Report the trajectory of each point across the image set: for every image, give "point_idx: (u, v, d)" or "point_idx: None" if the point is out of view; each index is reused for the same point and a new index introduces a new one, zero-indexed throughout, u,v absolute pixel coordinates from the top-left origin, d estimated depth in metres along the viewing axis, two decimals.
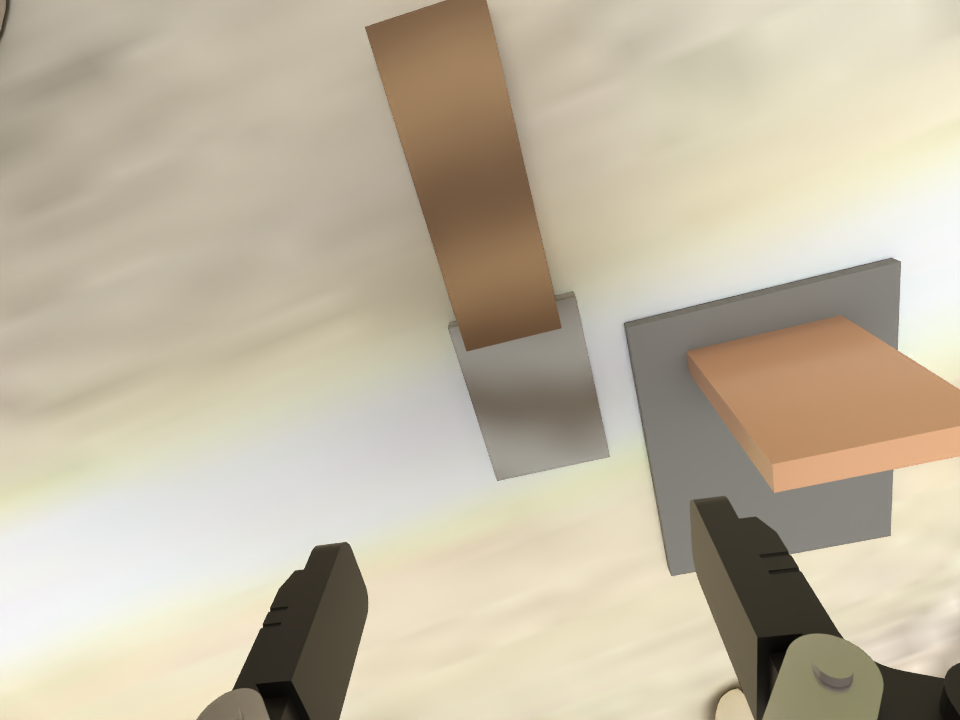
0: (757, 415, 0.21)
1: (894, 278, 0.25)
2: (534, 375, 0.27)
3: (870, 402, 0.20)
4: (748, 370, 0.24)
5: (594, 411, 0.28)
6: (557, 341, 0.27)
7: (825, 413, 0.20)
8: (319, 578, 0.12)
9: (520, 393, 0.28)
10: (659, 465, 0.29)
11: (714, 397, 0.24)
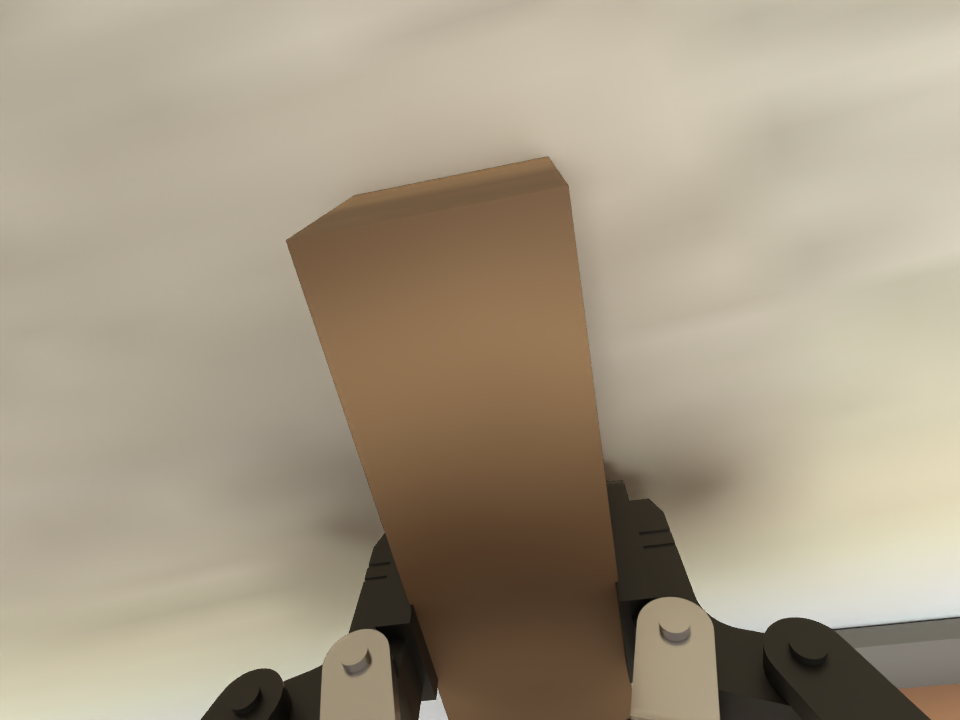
0: None
1: None
2: None
3: None
4: None
5: None
6: None
7: None
8: None
9: None
10: None
11: None
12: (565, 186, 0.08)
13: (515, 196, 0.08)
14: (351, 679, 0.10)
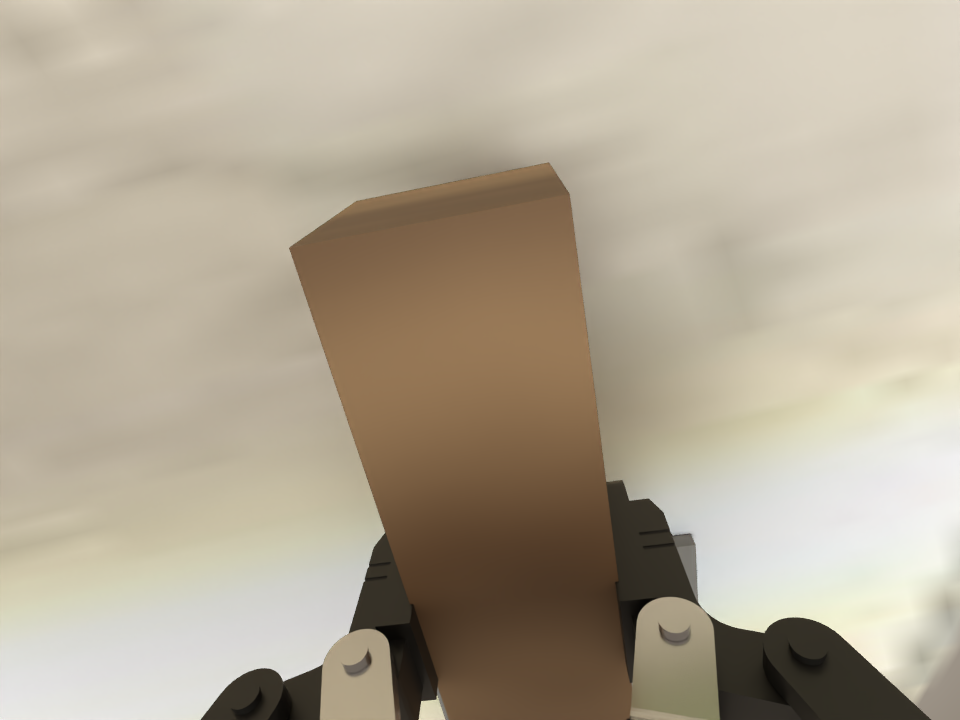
0: None
1: (689, 559, 0.22)
2: None
3: None
4: None
5: None
6: None
7: None
8: None
9: None
10: None
11: None
12: (566, 194, 0.08)
13: (517, 204, 0.08)
14: (351, 679, 0.10)
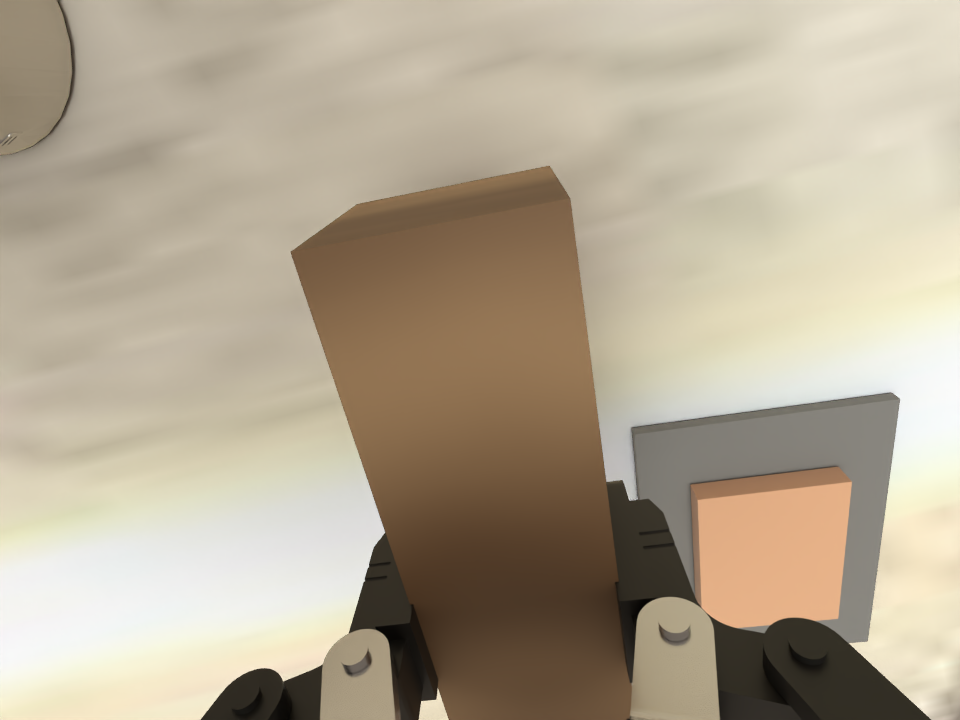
0: (714, 592, 0.30)
1: (892, 413, 0.26)
2: None
3: (786, 594, 0.29)
4: (734, 542, 0.28)
5: None
6: None
7: (755, 598, 0.30)
8: None
9: None
10: None
11: (696, 547, 0.29)
12: (567, 199, 0.08)
13: (518, 209, 0.08)
14: (351, 679, 0.10)
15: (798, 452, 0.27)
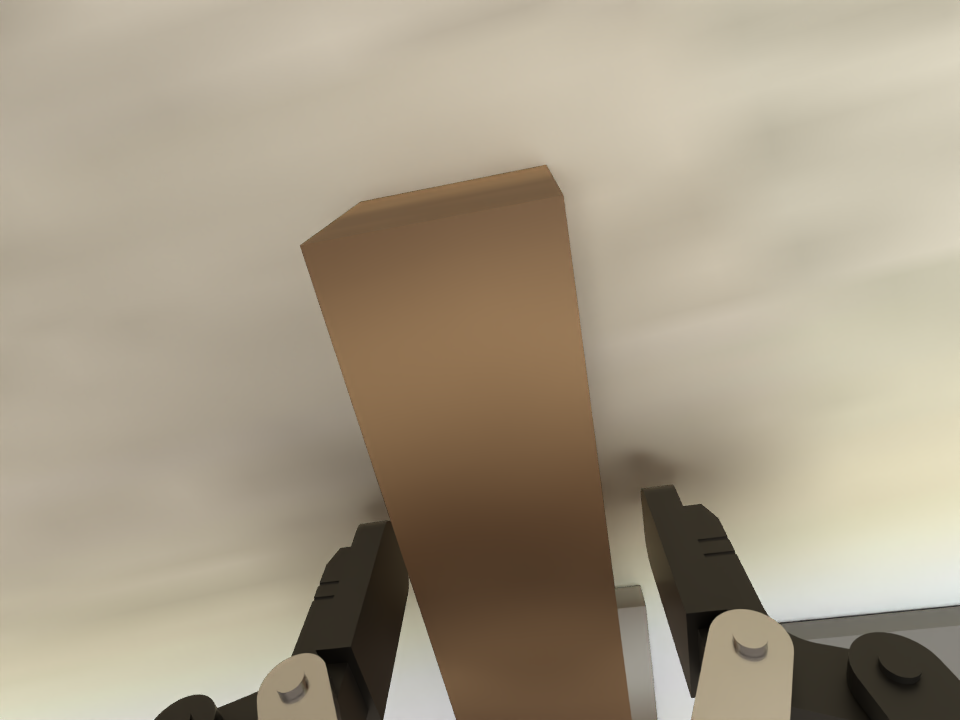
0: None
1: None
2: None
3: None
4: None
5: None
6: None
7: None
8: (367, 553, 0.12)
9: None
10: None
11: None
12: (560, 196, 0.08)
13: (514, 205, 0.08)
14: (285, 706, 0.09)
15: None
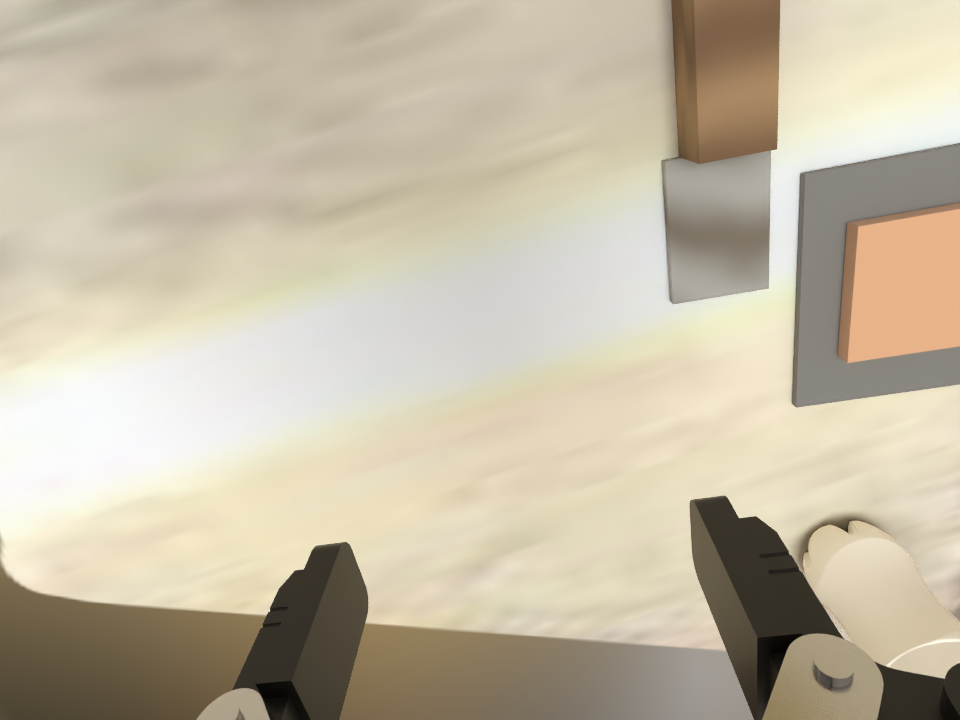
0: (862, 321, 0.36)
1: None
2: (723, 209, 0.34)
3: (922, 321, 0.36)
4: (884, 269, 0.34)
5: (764, 245, 0.35)
6: (748, 180, 0.34)
7: (895, 326, 0.36)
8: (319, 578, 0.12)
9: (709, 224, 0.35)
10: (806, 301, 0.37)
11: (849, 281, 0.35)
12: None
13: None
14: None
15: (939, 188, 0.33)
